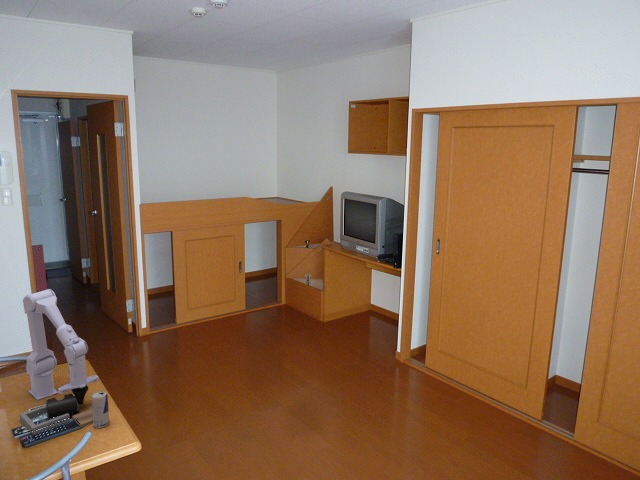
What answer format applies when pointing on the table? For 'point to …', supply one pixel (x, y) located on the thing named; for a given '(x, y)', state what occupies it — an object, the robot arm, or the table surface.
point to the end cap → (61, 406)
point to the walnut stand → (84, 418)
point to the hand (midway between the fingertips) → (80, 403)
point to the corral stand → (42, 410)
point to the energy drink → (100, 409)
